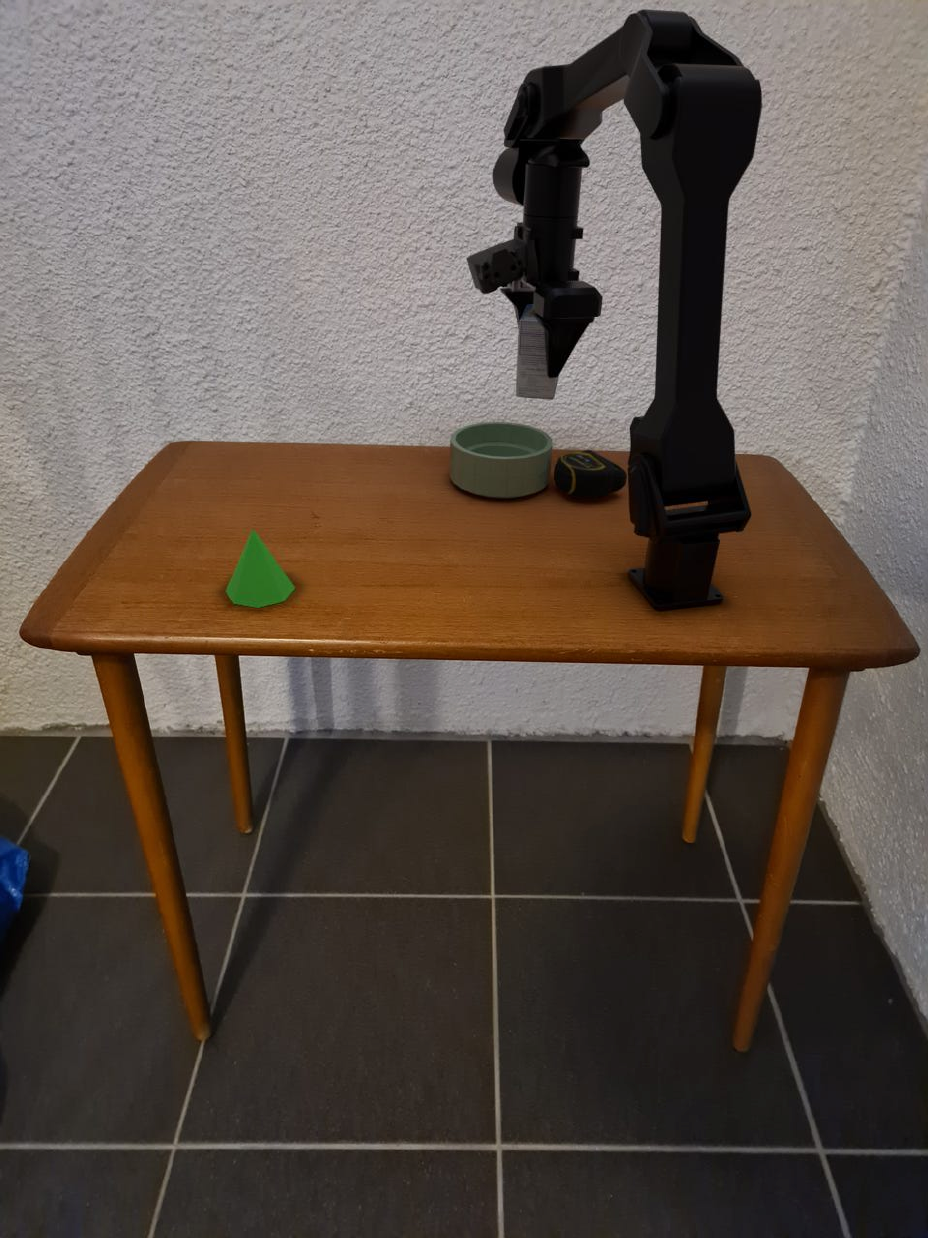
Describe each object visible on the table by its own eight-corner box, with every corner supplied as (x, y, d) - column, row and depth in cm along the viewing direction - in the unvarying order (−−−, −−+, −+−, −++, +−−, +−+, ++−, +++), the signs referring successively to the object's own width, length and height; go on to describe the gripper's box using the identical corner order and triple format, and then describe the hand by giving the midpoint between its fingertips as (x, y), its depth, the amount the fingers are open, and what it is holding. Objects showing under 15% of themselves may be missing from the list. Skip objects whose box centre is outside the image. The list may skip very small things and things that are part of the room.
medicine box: (554, 400, 92) (561, 320, 87) (514, 398, 93) (519, 317, 88) (558, 380, 99) (565, 304, 94) (521, 377, 99) (526, 302, 95)
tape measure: (627, 498, 90) (631, 466, 88) (575, 509, 88) (579, 476, 86) (590, 475, 95) (594, 444, 93) (540, 485, 93) (543, 454, 91)
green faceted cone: (228, 574, 74) (219, 513, 71) (296, 571, 75) (290, 511, 72) (221, 609, 69) (211, 546, 66) (294, 606, 70) (287, 543, 67)
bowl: (562, 498, 90) (567, 454, 87) (462, 506, 88) (464, 461, 85) (531, 459, 99) (534, 419, 96) (440, 466, 97) (440, 424, 94)
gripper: (454, 204, 92) (452, 347, 100) (500, 228, 77) (493, 394, 85) (549, 203, 94) (540, 343, 103) (612, 227, 79) (594, 389, 87)
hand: (539, 365), depth 94 cm, fingers closed on medicine box, 9 cm apart
